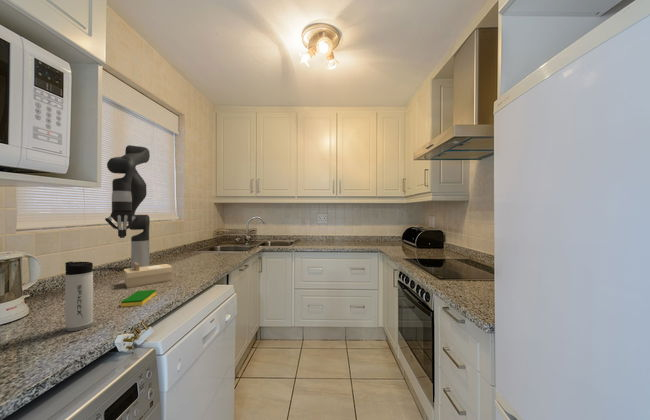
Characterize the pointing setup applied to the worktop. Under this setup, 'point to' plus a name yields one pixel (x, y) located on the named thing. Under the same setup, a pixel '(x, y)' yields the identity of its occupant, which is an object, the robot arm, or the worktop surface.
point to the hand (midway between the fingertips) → (122, 237)
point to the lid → (147, 270)
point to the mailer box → (147, 279)
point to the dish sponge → (138, 298)
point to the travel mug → (78, 295)
